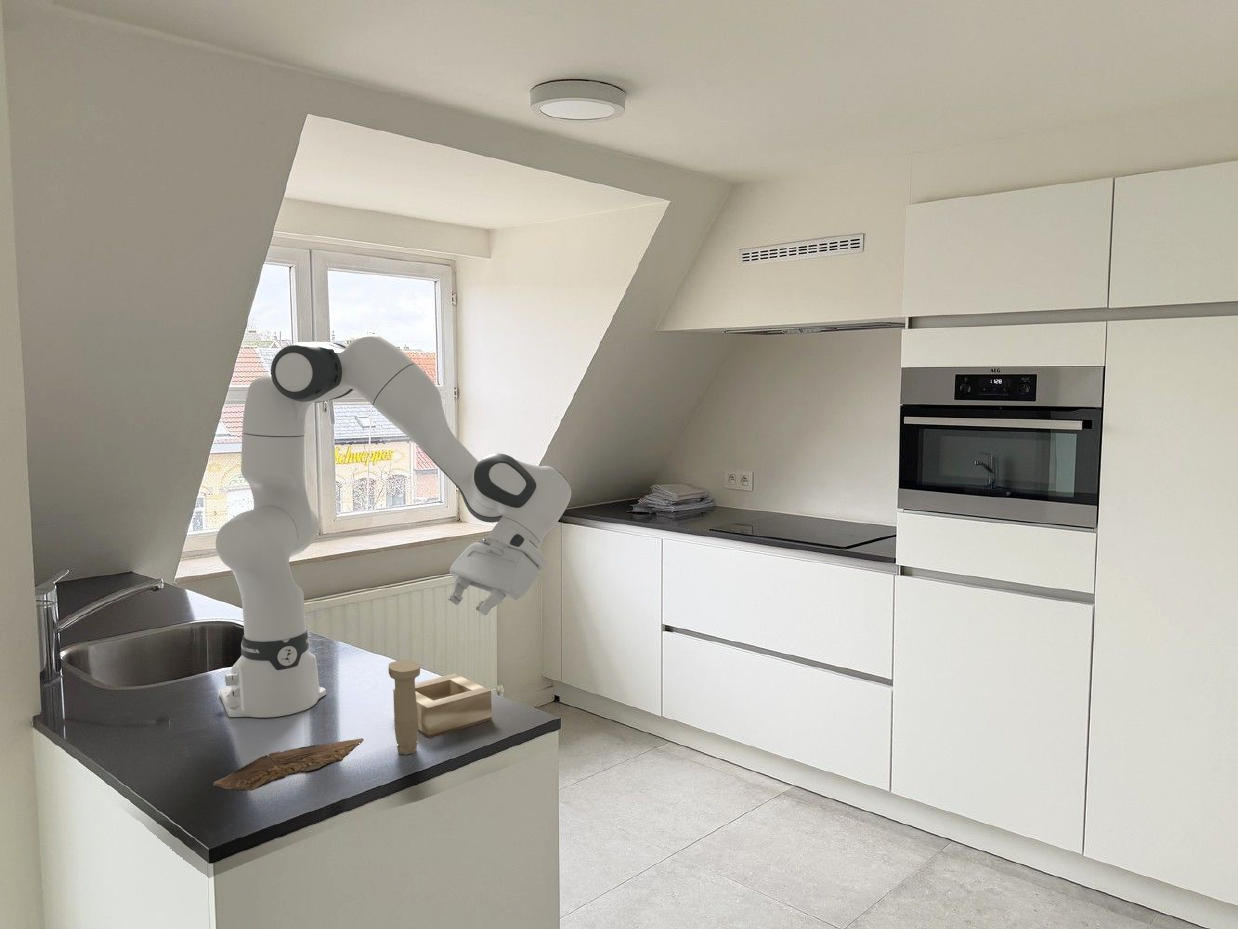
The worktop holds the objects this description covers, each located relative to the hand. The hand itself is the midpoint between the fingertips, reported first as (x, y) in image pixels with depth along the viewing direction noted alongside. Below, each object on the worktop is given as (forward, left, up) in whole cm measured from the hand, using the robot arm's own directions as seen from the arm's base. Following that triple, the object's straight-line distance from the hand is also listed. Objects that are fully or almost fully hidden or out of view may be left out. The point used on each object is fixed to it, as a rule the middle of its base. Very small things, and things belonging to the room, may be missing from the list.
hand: (465, 607), depth 162 cm
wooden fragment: (-9, -28, -23) cm, 37 cm away
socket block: (-9, 0, -23) cm, 24 cm away
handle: (0, -12, -23) cm, 26 cm away
